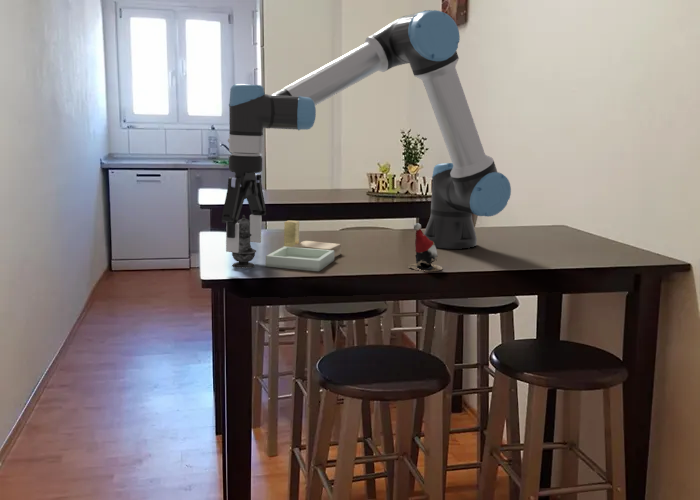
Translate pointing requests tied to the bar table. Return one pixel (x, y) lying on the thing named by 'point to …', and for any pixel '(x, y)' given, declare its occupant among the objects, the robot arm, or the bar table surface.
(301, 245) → the beige rectangular block
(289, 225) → the block
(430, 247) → the figurine
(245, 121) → the robot arm
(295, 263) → the tray
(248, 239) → the salt shaker
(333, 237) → the bar table surface
